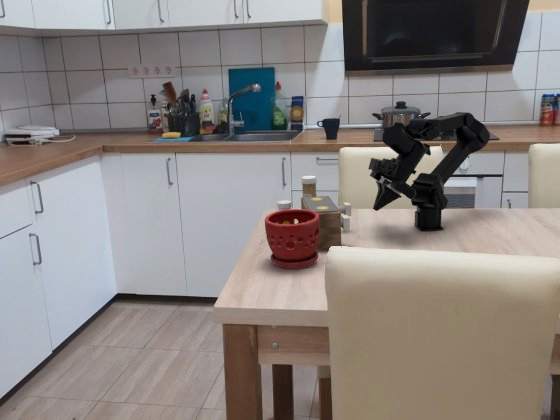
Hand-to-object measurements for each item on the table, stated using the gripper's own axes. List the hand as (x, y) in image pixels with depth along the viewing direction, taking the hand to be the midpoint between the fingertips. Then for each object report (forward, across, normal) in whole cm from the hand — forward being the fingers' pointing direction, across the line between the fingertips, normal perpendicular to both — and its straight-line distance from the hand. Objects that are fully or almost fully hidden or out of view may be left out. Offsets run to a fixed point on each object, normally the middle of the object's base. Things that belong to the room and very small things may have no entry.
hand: (374, 209), depth 146 cm
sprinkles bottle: (+14, -24, -5) cm, 28 cm away
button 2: (+10, +4, -10) cm, 15 cm away
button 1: (+8, -8, -6) cm, 13 cm away
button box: (+15, -2, -7) cm, 17 cm away
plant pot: (+22, +12, -16) cm, 30 cm away
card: (+7, -2, -13) cm, 15 cm away
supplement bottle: (+20, -10, -14) cm, 26 cm away
